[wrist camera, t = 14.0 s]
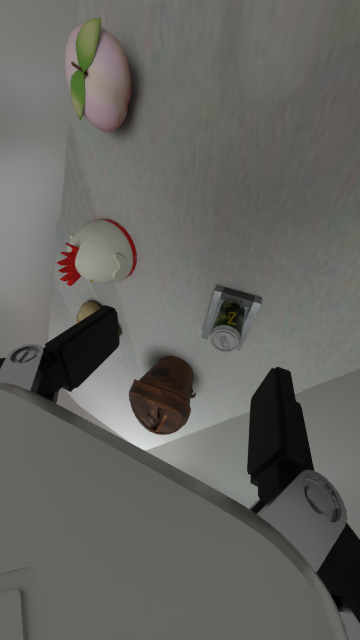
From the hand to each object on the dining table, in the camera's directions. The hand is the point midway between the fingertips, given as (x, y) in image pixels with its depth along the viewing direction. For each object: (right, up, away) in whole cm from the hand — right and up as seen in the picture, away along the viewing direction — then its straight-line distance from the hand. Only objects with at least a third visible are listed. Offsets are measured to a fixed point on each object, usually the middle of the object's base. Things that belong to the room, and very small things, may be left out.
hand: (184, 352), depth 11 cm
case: (-1, -15, +49) cm, 52 cm away
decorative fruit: (-10, +38, +19) cm, 43 cm away
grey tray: (+11, +3, +32) cm, 34 cm away
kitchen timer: (-17, +19, +34) cm, 43 cm away
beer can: (+12, +4, +30) cm, 33 cm away
